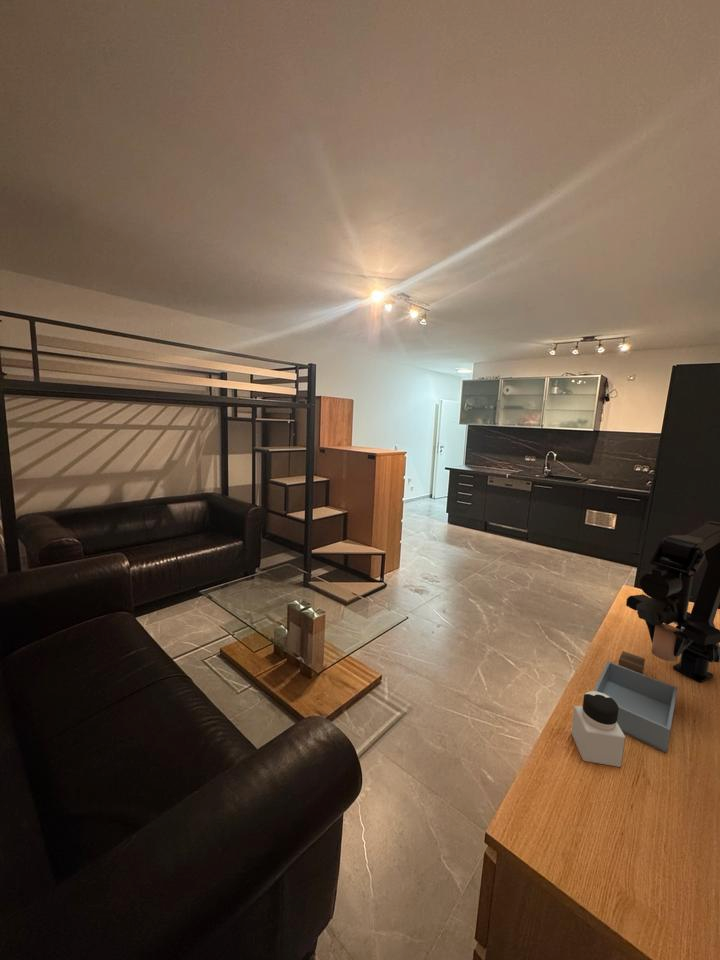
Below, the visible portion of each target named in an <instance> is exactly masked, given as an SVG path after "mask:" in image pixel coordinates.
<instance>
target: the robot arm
mask: <svg viewBox="0 0 720 960" xmlns="http://www.w3.org/2000/svg"><path fill="white" fill-rule="evenodd" d="M650 559H651V560H650V562H649V564H650V565H653V566H656V567H653V568H652V569H651V572H649V573H646V574H644V575H642V577H641V578H640V580H639V587H640V589H641V590H642V594H635V595H633V594H632V595H629V596H627V598H626V602H625V603H626V604H625V606H626V607H628V608H630V609H631V610H633V611H636V613H637V616H638V618H639V619H640V620H644V622H645V624H646V626H647V627H646V628H647V629H648V633H649V637H650V640H651V644H652V643H653V637H654V630H655V625H660V624H666V625H671V624H672V623H673V624H675V625H676V626H675V627H676V628H677V629H679V630H680V631H676V632H673V633H674V634H675V636H676V642H675V647H674V656H678V657H680V659H679V660H680V661H679V663H676V664H674V665H673V666H672V669H674V670H676V671H678V672H679V673H681V674H683V675H684V676H687V677H688V678H691V679H692V680H695V681H696V682H698V683H702V682H703V683H704V682H705V681H707V680H709V679H711V678H713V677H714V673H712V672H710V671H709V666H710V663H720V644H719V643H720V629H718V628H716V626H715V623H714V622H715V618H716V615H717V612H718V609H719V606H720V522H716V521H712V520H711V521H705V522H704V524H703V525H702V526H700V527H698V528H697V529H694V530H693V531H691V532H689V533H687V534H685V535H683V534H682V535H681V534H680V535H679V534H673V535H667V536H666V537H664V538H663V539H661V540H660V542H659V543H658V545H657V548H656V550H655V551H654V554H653V556H652V558H650ZM705 560H706V563H707V564H706V567H705V569H704V572H703V576H702V578H701V582H700V585H699V588H698V590H697V593H696V596H693V595H691V590H692V586H693V585H692V584H693V580H694V579H693V578H694V574H695V573H697V572H698V571H699V569H700V567H701V566H702V564H703V562H704V561H705ZM643 593H644V594H643ZM694 597H695V600H694ZM691 602H694V603H693V606H692V609H691V612H689V611H688V609H689V604H690V603H691Z"/></svg>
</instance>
